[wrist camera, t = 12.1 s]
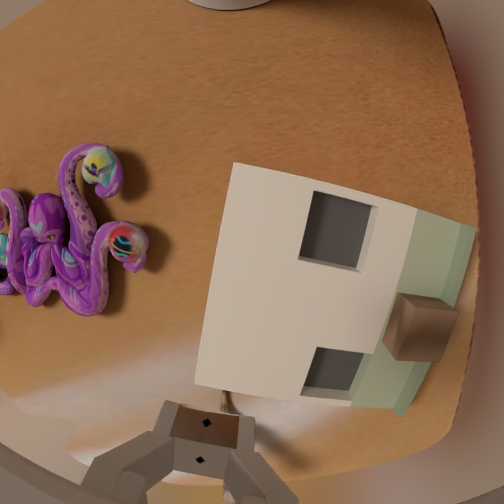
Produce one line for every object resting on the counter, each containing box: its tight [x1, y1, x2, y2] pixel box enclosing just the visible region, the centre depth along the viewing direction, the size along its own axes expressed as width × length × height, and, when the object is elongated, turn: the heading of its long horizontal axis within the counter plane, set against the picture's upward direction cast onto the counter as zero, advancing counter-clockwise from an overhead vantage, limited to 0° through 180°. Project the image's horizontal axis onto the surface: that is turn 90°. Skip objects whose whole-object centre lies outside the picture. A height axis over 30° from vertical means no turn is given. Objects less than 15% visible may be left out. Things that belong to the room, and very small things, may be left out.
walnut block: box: [382, 292, 458, 362], centre depth 29 cm, size 6×6×4 cm
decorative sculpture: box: [0, 143, 149, 317], centre depth 31 cm, size 29×5×20 cm
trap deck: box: [194, 162, 477, 417], centre depth 32 cm, size 25×27×4 cm
